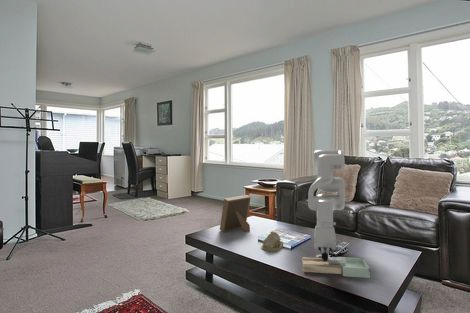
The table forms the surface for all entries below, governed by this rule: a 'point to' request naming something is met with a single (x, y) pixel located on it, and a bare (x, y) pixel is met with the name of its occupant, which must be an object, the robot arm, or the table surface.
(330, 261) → the chip
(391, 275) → the table surface
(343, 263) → the chip
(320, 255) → the adjustable wrench
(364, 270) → the tray
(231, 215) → the photo frame
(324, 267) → the slot rail
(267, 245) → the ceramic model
